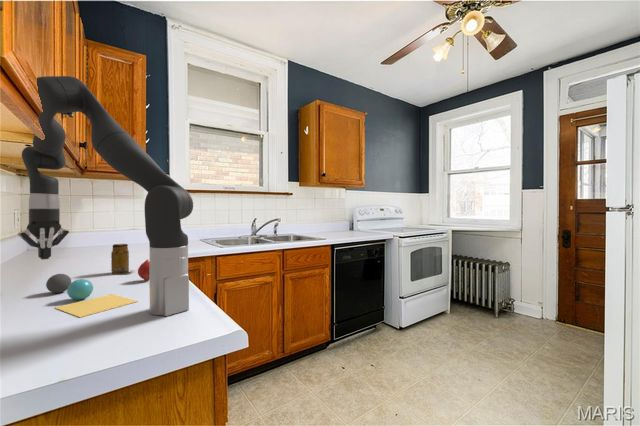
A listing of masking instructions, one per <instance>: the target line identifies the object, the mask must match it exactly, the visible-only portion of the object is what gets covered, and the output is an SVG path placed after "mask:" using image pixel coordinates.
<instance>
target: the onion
mask: <svg viewBox="0 0 640 426" xmlns="http://www.w3.org/2000/svg"><path fill="white" fill-rule="evenodd" d="M137 274H138V276H139V277H140V279H143V280H144V281H146V282H148V281H150V262H149V259H146V260H145V261H144V262H143V263H141V264H140V266H139V267H138V270H137Z"/></svg>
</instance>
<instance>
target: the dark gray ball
mask: <svg viewBox="0 0 640 426" xmlns="http://www.w3.org/2000/svg"><path fill="white" fill-rule="evenodd" d="M71 283H72V279H71V277H70V276H69V275H67V274H65V273H56V274H53V275H52V276H50V277H49V278H48V279H47V281H46V283H45V285H46V286H45V287H46V289H47V290H48V291H49V292H51V293H55V294H60V293H63V292H65V291H66V292H67V288H68V286H69V285H70V284H71Z"/></svg>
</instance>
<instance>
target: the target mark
mask: <svg viewBox="0 0 640 426" xmlns="http://www.w3.org/2000/svg"><path fill="white" fill-rule="evenodd" d="M138 302H139V301H138V300H135V299H132V298H128V297H123V296H121V295H117V294H106V295H101V296H98V297H93V298H90V299H83V300H80V301H77V302H72V303H68V304H63V305H60V306H55V307H54V309H56V310H58V311H61V312H65V313H66V314H70V315H72V316H75V317H77V318H84V317H87V316H92V315H95V314H98V313H102V312H106V311H108V310H110V311H111V310H113V309H116V308H121V307H123V306H127V305H130V304H131V303H132V304H135V303H138ZM132 304H131V305H132Z"/></svg>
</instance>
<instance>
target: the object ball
mask: <svg viewBox="0 0 640 426" xmlns="http://www.w3.org/2000/svg"><path fill="white" fill-rule="evenodd" d="M93 291H94V284H93V283H92V282H91V281H90V280H88V279H85V278H79V279H76V280H73V281H71V284H70V285H69V286H68V288H67V290H66V294H67V295H68V297H69V298H71V299H72V300H75V301H76V300H77V301H79V300H80V301H83V300H86V299H87V298H89V297H90V296H91V294H92V293H93Z"/></svg>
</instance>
